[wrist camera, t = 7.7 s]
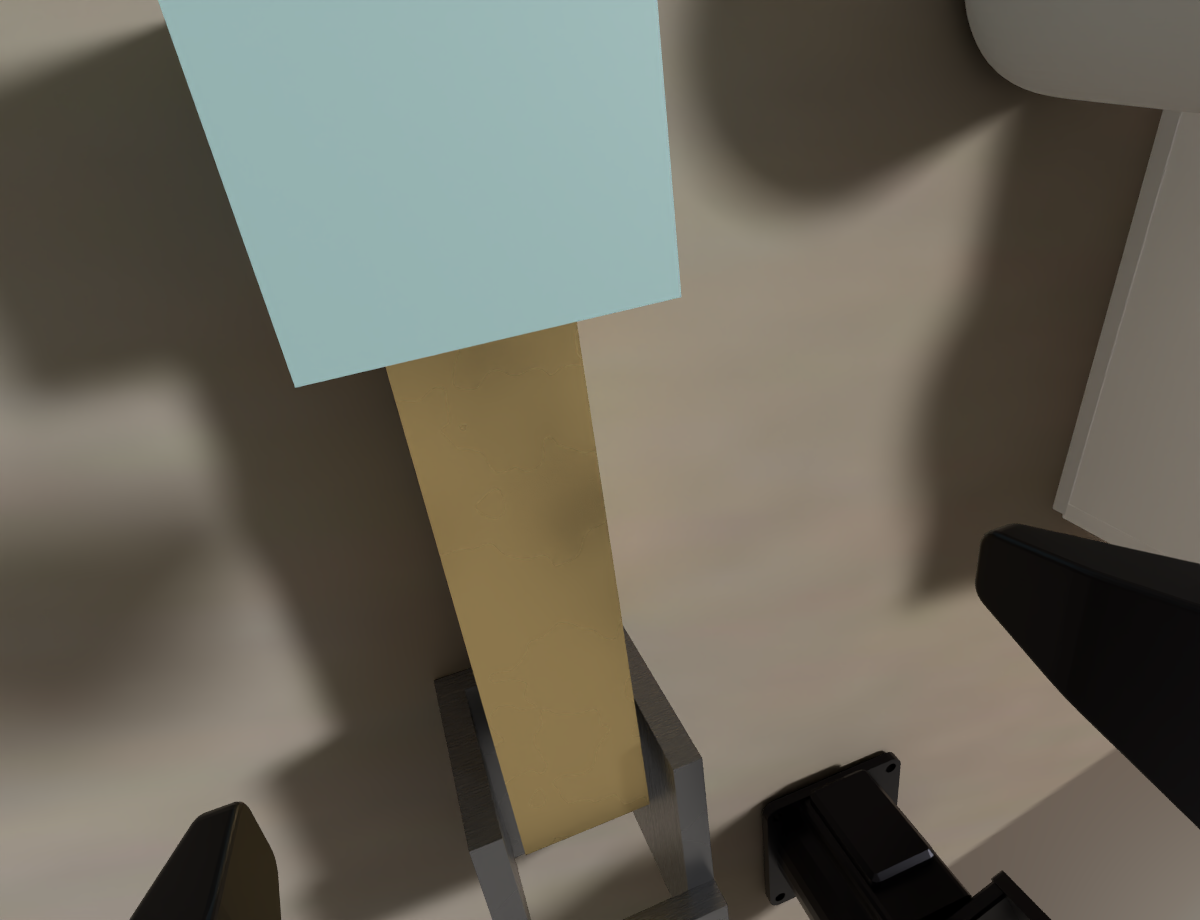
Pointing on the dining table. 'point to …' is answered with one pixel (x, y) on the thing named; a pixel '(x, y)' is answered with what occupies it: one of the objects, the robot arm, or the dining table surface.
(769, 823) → the robot arm
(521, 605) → the peg
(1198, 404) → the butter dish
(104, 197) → the dining table surface
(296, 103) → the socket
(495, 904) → the sleeve
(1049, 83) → the cup
